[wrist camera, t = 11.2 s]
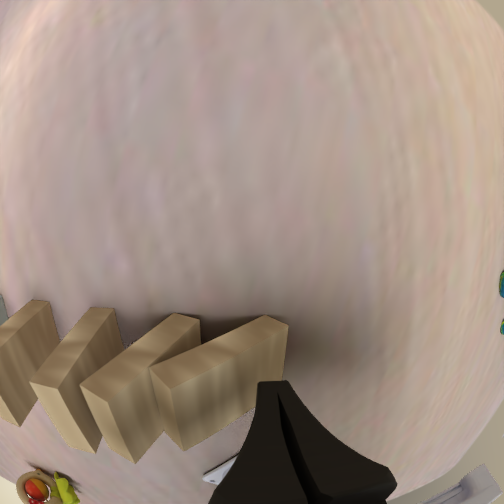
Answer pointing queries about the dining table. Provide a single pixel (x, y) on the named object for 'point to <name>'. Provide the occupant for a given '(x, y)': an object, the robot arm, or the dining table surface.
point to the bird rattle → (45, 489)
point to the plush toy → (503, 293)
